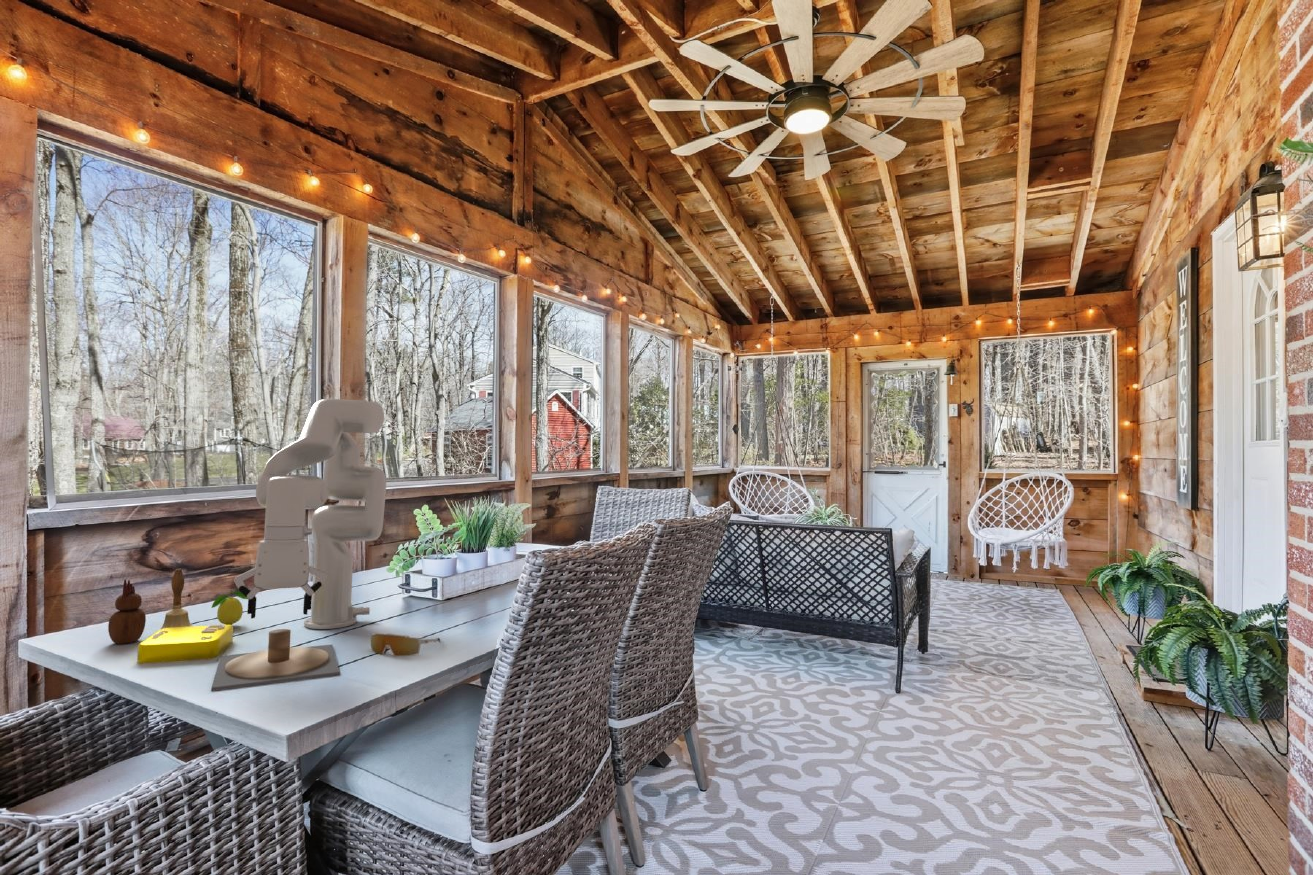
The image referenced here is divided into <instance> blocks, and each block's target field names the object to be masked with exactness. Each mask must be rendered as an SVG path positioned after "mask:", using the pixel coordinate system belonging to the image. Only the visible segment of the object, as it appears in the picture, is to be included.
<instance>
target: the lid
mask: <svg viewBox="0 0 1313 875" xmlns="http://www.w3.org/2000/svg"><path fill="white" fill-rule="evenodd" d="M267 647H268V649H264V650H258V651H255V652H248V653H249V654H246V655H242V656H240V657H237V658H235V659H233V660H231V661H229V662H228V663H227V664H226V666H225V672H226V673H227V674H228V675H230V676H234V677H238V678H250V679H260V678H274V677H282V676H289V675H294V674H299V673H303V672H306V671H310V670H313V669H315V668H318V667H320V666H322V665H323V664H325V663H326V662H327V661H328V653H327V652H326V651H324V650H321V649H317V648H309V647H310V646H305V647H304V646H303V647H302V646H294V647H293V646H291V629H287V628H279V629H273V630H270V631H269V632H268V646H267Z"/></svg>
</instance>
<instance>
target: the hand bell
mask: <svg viewBox="0 0 1313 875" xmlns="http://www.w3.org/2000/svg"><path fill="white" fill-rule="evenodd" d="M170 584H171V591H172V593H173V600H172V609H171V610H169V611H167V612H166V613H165V617H164V620H163V624H162V626H161V628H160V629H159V630H161V629H163V628H172V627H192V626H193V625H192V623H191V622H190V619H189V611H188V610H186V609H184V608H182V593H183V590H184V587H185V576H184V572H183V570H182V568H176V569H174V573H173V575H172V578H171V583H170Z"/></svg>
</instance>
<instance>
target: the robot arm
mask: <svg viewBox="0 0 1313 875" xmlns="http://www.w3.org/2000/svg"><path fill="white" fill-rule="evenodd" d="M384 421H385V413H384V409H383V406H382V405H381V404H380V403H378V402H377V401H367V400H360V399H343V398H324V399H320V400H318V401H316V402H314V404H313V405H312V406H311V408H310V411H309V413H308V416H307V417H306V421H305V422H304V426H303V428H302V430H301V433H300V436H299V437H298V439H297V440H296V441H294V442H291V443H290V444H289V445H287V446H285V447H283V448H281V450H278V452H276V453H274V454H273V455H272V456H271V457H270V458H269V459H268V460H267V462H266V463H265V465H264V467H263V468H262V471H261V474H260V476H259V478H258V481H257V484H256V489H255V497H256V501H257V503H258V504H259V505H260V506H261V507H263V508H265V514H264V515H265V516H264V532H263V540H260V541H259V542H258V547H257V551H256V556H255V564H254V567H253V568H251V569H249V570H247V571H245V572H244V573H240V574H238V575H237V576H235V577H233V583H234V584H235V585H236V587H237V589H238V591H240V592H241V593H242V594H243V595H245V596H246V597H247V598H248V599H247V611H246V612H247V615H250V619H255V618H256V609H257V608H256V607H257V599H258V598H257V597H256V595H257V594H259V593H260V591H261V590H279V589H280V590H281V589H294V588H295V589H297V588H301V589H302V590H303V591H304V592H305V593H304V594H303V595H304V596H303V609H302V610H303V612H302V613H303V615H304V616H305V615H308V611H310V610H311V612H310V617H309V618H308V617H307V618H306V619H305V620H304V621H303V626H304V627H305V628H307V629H311V630H313V629H314V630H331V629H341V628H346V627H350V626H352V625H354V624H356V623H357V620H358V619H357V618H358V617H357V616H359V615H360V616H361V615H362V616H364V615H365V616H367V615H368V616H369V615H370V610H371V609H370V607H369V606H367V607H366V606H365V607H364V606H359V607H358V606H357V607H356V606H353V603H352V595H353V594H352V592H353V591H352V590H353V588H352V587H353V569H354V556H353V553H352V551H351V549H350V548H349V546H348V545H347V544H346V542H371V541H377V540H378V538H380V536H381V535H382V532H383V528H384V527H383V526H384V518H385V517H384V515H385V508H386V507H385V506H386V505H385V504H386V494H387V478H386V474H385V472H384V470H382V469H381V468H380V467H377V466H366V465H365V466H362V465H361V466H360V459H361V458H360V457H361V448H360V446H359V444H358V443H357V441H356V440H355V438H354V437H353V436H352V435H351V434H350V433H353V434H354V433H356V434H357V433H358V434H359V433H360V434H375V433H378V432H379V431H380V430H381V429H382V428H383V425H384ZM321 462H324V468H323V477H322V478H321V477H319V476H315V475H298V474H297V475H294V474H293V475H289V474H290V473H292V472H293V471H297V470H298V469H301V468H305V467H306V468H307V467H309V466H312V465H316V464H319V463H321ZM327 500H332V501H344V502H345V501H348V502H353V501H354V502H364V503H365V505H349V504H342V505H341V504H330V505H328V504H327V505H325V504H326V503H327ZM314 509H315V510H314ZM306 510H314V512H313V514H312V516H311V528H309V527H307V526H306ZM309 535H311V536H312V537H313V540H312V541H313V566H311V565H310V548H309V546H310V545H309V542H308V541H309V540H308V539H305V537H306V536H309ZM310 574H311V575H312V585H309V579H310ZM251 577H253V583H254V584H253V585H254V586H253V587H252V588H251V589H250V588H248V586H246V585H245V583H244V581H245V580H247V579H249V578H251Z"/></svg>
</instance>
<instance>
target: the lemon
mask: <svg viewBox="0 0 1313 875" xmlns="http://www.w3.org/2000/svg"><path fill="white" fill-rule="evenodd" d="M233 593H234V594H235V596H236V597H238V598H240V599H243V600H248V598H247V597H246V596H245V595H243V594H242V593H241V592H240V591H239V590H236V591H234V590H233V589H232V587H230V593H229V594H225V595H220V596H218V597H216V599H214V601H213V603H212V604H211V609H213V608H215V607H218V609H217V612H216V615H217V616H216V617H217V620H218V622H219V623H221V625H232V626H233V625H234V624H236V623H237V622H239V621H240V620H241V619H242V616H243V614H244V613H243V612H244V611H243V610H244V609H243V604H242V602H241V601H240V599H238V598H235V597H234V596H233V595H232V594H233Z"/></svg>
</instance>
